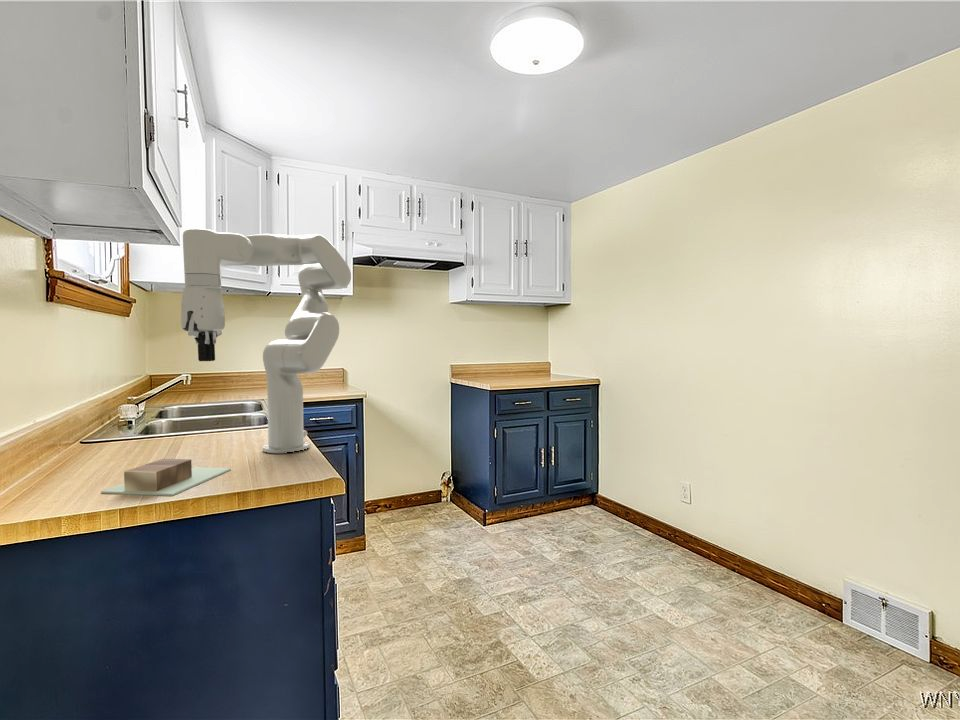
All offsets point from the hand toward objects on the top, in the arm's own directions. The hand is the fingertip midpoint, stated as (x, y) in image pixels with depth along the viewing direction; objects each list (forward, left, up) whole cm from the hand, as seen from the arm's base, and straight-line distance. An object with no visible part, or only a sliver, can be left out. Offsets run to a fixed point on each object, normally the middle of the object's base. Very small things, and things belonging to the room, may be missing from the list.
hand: (206, 360), depth 121 cm
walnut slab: (+6, -4, -24) cm, 25 cm away
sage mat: (+8, -4, -27) cm, 28 cm away
